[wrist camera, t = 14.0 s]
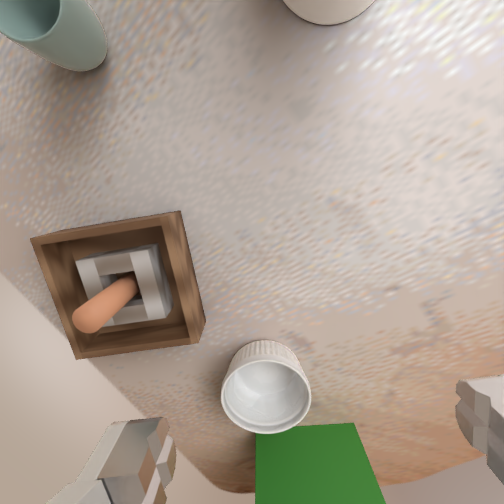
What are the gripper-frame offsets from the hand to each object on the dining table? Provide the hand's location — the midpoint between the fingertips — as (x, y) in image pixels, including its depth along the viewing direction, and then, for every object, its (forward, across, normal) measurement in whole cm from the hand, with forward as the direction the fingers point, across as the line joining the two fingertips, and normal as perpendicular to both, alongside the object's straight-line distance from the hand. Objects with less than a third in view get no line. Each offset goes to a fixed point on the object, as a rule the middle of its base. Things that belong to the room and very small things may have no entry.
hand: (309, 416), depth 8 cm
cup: (+33, +19, -26) cm, 46 cm away
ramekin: (+34, +4, +24) cm, 41 cm away
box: (+33, +21, +5) cm, 39 cm away
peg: (+32, +21, +5) cm, 39 cm away
